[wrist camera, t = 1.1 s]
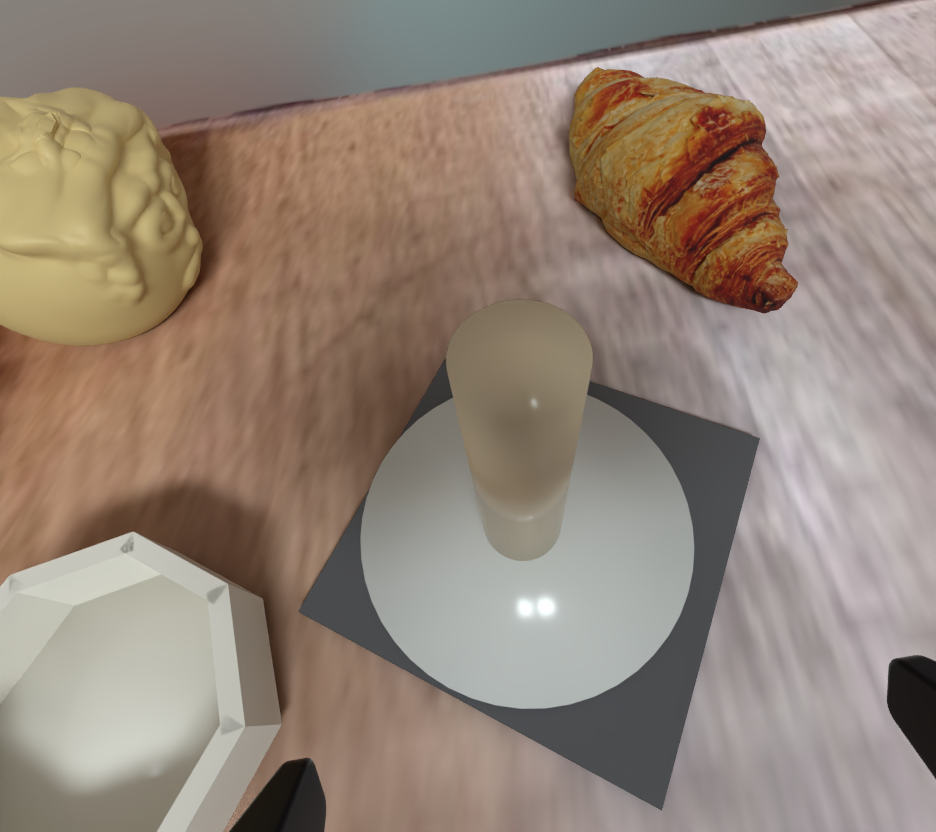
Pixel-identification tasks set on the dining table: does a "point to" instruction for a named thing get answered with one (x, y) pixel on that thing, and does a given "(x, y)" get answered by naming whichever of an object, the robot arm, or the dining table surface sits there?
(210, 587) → the bowl
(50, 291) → the sculpture
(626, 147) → the croissant
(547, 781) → the dining table surface
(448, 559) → the lid
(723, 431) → the mat
